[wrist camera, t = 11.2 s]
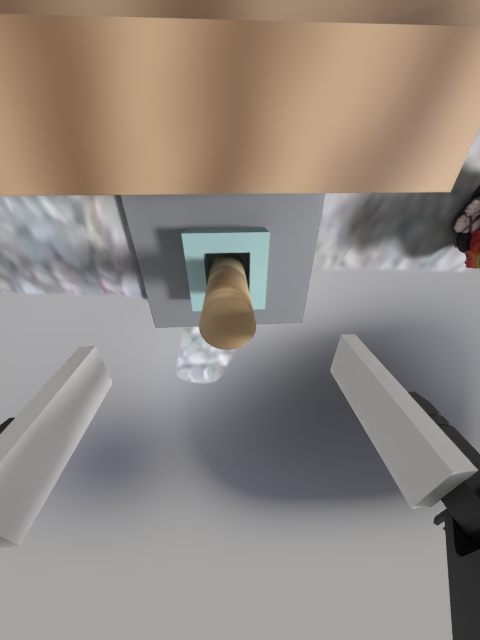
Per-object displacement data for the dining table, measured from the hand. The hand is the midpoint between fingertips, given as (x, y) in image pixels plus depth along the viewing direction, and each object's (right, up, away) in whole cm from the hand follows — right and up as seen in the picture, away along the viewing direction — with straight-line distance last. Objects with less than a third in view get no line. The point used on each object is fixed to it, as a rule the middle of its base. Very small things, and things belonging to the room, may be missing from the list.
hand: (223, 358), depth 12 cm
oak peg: (-1, +9, +15) cm, 17 cm away
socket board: (-1, +12, +14) cm, 19 cm away
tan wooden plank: (-1, +19, +10) cm, 22 cm away
